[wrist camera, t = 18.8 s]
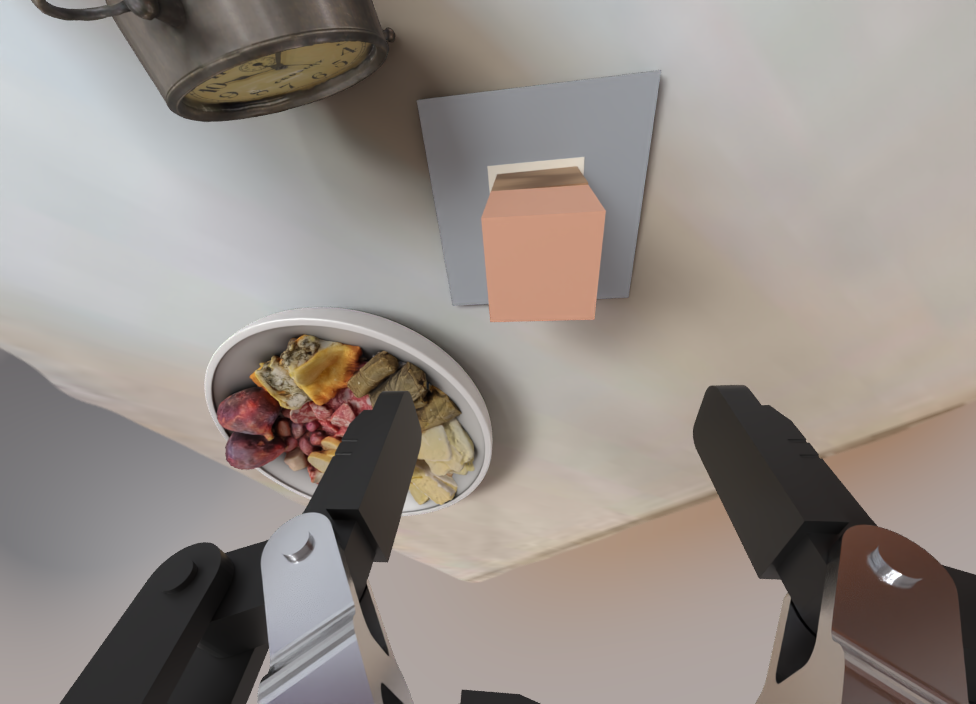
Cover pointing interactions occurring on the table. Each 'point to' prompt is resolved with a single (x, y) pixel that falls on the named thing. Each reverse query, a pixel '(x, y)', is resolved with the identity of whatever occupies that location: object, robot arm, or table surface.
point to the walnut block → (539, 179)
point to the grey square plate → (540, 163)
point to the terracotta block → (543, 253)
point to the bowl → (344, 400)
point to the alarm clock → (245, 50)
